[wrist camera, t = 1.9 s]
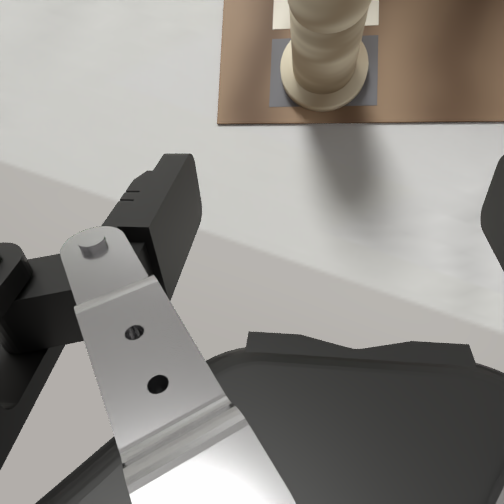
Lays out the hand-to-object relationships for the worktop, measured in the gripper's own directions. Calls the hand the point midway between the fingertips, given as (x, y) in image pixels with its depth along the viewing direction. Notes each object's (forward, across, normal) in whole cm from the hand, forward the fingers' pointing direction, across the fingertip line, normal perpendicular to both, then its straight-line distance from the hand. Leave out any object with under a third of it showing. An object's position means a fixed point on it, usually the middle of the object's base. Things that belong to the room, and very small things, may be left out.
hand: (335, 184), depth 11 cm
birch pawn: (+19, 0, +2) cm, 19 cm away
